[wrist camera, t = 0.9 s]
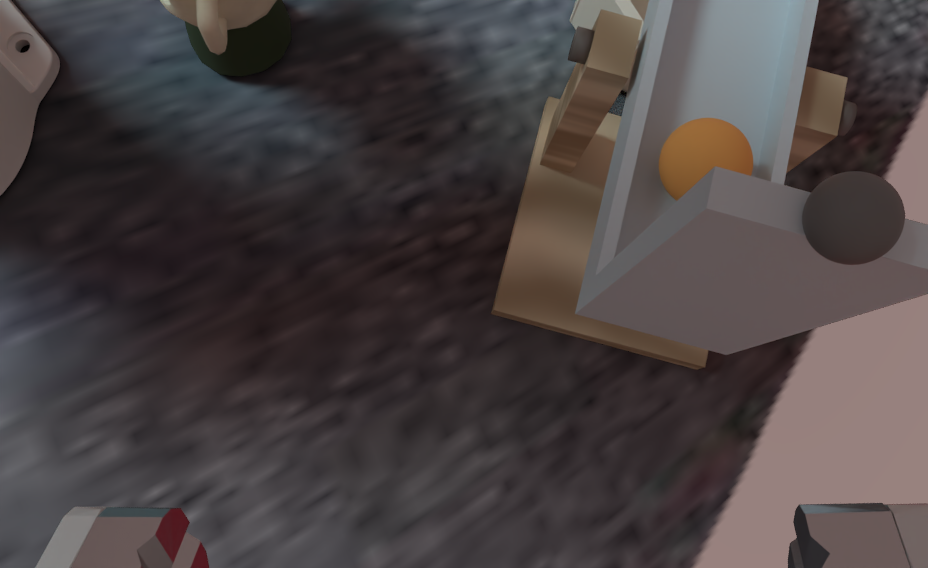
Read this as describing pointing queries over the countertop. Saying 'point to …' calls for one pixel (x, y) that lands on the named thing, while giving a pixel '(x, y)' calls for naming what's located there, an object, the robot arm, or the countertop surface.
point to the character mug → (235, 32)
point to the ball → (702, 153)
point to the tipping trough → (738, 195)
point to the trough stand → (583, 182)
